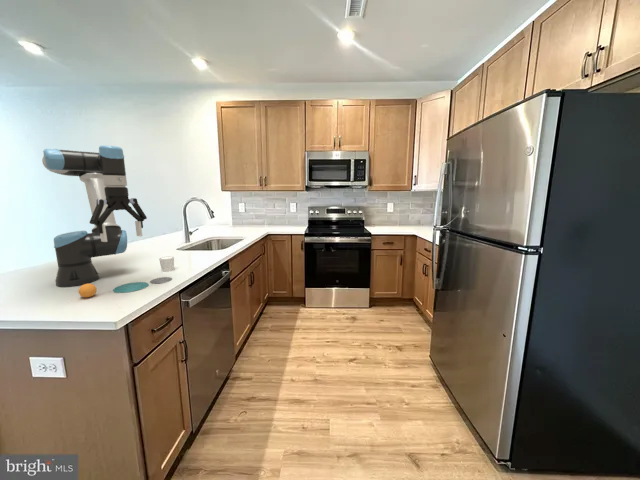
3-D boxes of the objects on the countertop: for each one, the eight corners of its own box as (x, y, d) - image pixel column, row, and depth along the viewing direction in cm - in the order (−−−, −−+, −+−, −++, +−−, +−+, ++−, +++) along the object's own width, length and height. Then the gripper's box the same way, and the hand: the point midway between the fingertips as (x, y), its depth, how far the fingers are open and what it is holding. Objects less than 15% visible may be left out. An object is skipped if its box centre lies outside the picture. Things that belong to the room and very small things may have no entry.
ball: (76, 299, 105) (73, 285, 104) (90, 293, 110) (88, 281, 109) (87, 300, 104) (84, 286, 103) (101, 294, 109) (99, 282, 108)
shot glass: (164, 268, 146) (163, 256, 145) (177, 268, 147) (176, 256, 146) (158, 272, 140) (156, 259, 138) (171, 272, 140) (170, 259, 139)
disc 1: (105, 291, 113) (104, 291, 113) (131, 281, 126) (131, 281, 125) (130, 293, 110) (130, 293, 110) (155, 283, 123) (155, 282, 123)
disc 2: (145, 283, 123) (145, 282, 123) (160, 277, 132) (160, 276, 132) (162, 284, 122) (161, 284, 122) (176, 278, 130) (176, 277, 130)
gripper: (83, 186, 94) (92, 245, 98) (152, 186, 116) (157, 234, 120) (72, 186, 97) (81, 243, 101) (141, 186, 119) (146, 233, 123)
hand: (122, 238), depth 111 cm, fingers open, 13 cm apart
